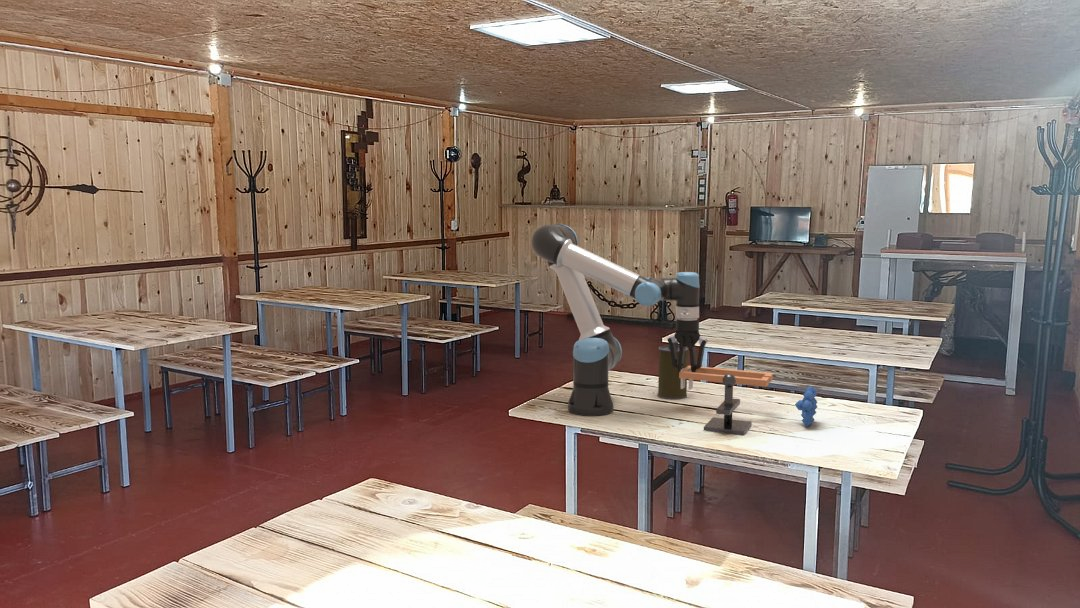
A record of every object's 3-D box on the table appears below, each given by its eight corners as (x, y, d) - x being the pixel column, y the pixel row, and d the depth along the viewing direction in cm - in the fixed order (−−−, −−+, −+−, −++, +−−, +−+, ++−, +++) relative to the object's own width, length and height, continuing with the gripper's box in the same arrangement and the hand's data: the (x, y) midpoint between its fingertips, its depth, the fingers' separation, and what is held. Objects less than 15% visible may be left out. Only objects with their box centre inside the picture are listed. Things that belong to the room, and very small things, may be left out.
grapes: (797, 418, 252) (799, 381, 251) (819, 421, 249) (821, 383, 247) (790, 427, 242) (792, 389, 240) (813, 430, 239) (815, 391, 237)
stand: (702, 431, 238) (703, 377, 236) (714, 419, 251) (715, 367, 249) (742, 436, 233) (744, 380, 231) (752, 423, 246) (754, 371, 244)
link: (679, 378, 259) (679, 372, 259) (688, 371, 270) (688, 365, 270) (766, 386, 247) (766, 380, 247) (772, 379, 258) (773, 373, 258)
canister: (689, 399, 278) (690, 343, 275) (659, 399, 278) (660, 343, 275) (684, 392, 288) (685, 338, 286) (655, 392, 288) (656, 338, 286)
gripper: (662, 319, 262) (661, 388, 265) (707, 321, 255) (706, 392, 258) (668, 316, 269) (668, 384, 271) (712, 318, 262) (711, 388, 265)
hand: (686, 388), depth 265 cm, fingers closed on link, 2 cm apart
